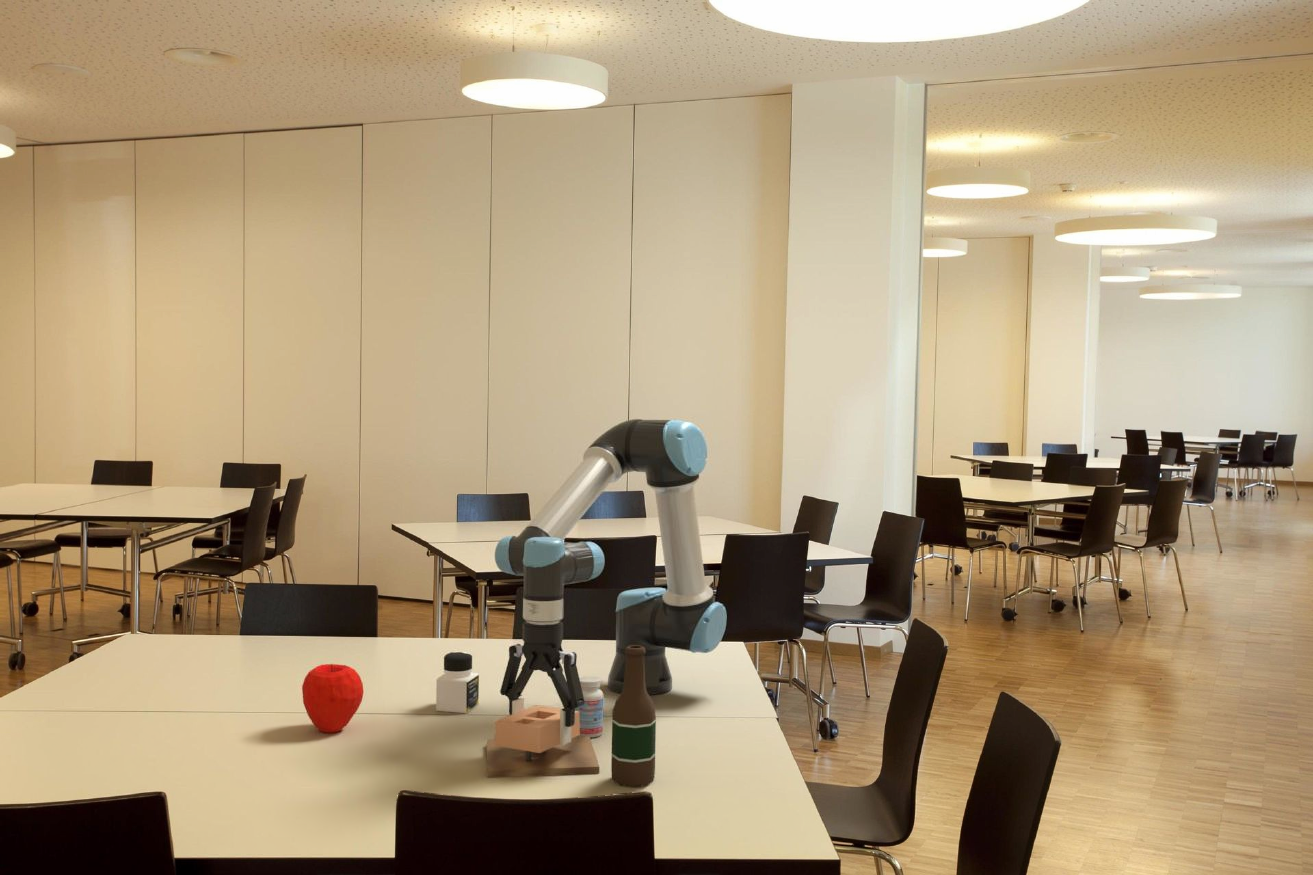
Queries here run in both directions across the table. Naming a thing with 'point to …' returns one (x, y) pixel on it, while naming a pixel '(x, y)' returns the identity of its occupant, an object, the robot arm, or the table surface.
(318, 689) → the apple
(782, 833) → the table surface
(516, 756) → the post board
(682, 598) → the robot arm
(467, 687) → the medicine bottle
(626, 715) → the beer bottle
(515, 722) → the salmon block with slots
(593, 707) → the pill bottle
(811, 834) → the table surface
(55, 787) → the table surface
